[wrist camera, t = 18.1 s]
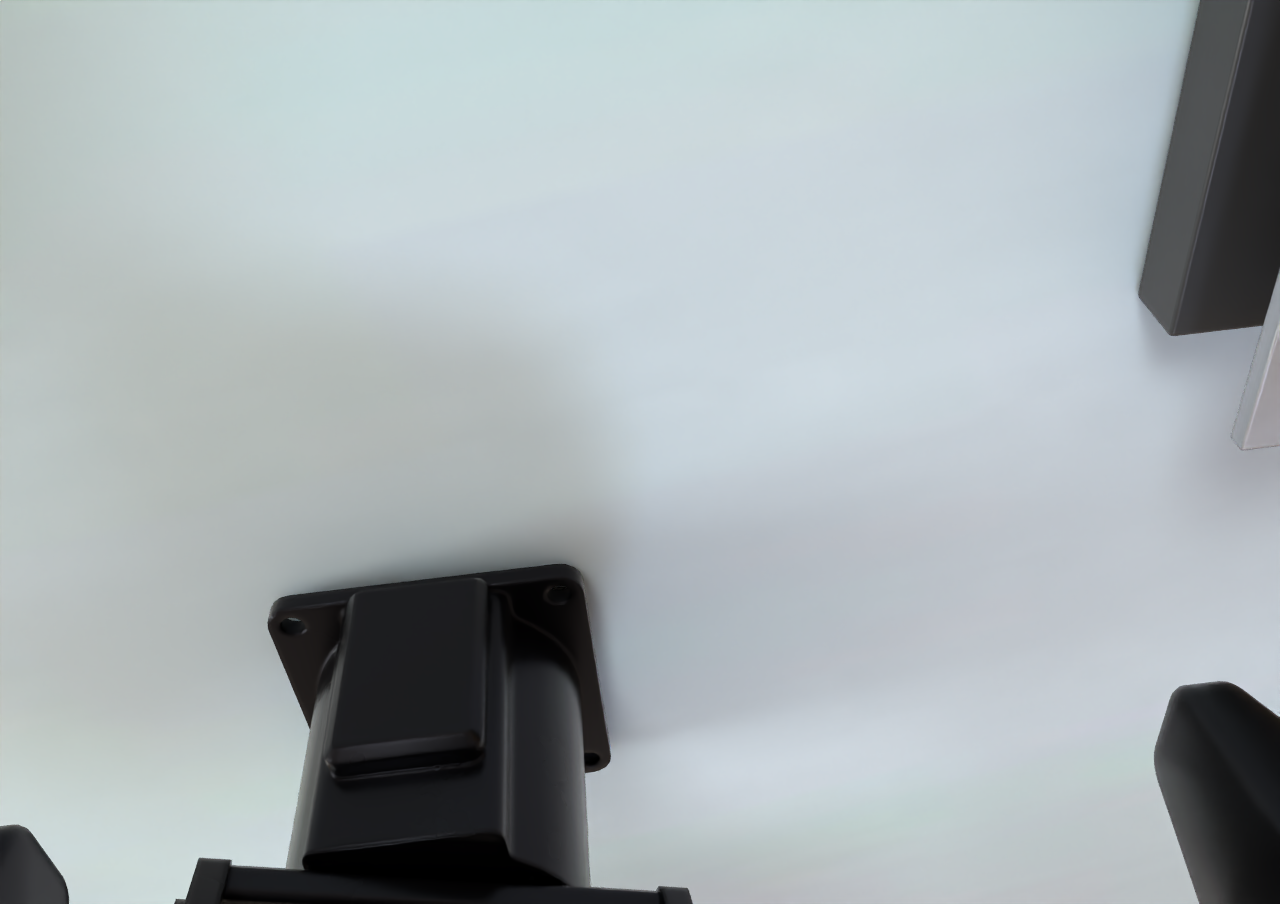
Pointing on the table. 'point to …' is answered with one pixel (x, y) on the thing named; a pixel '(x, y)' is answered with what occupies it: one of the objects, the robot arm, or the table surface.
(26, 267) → the table surface
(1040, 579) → the table surface
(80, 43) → the table surface
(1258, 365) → the pan
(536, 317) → the table surface
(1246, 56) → the scale
